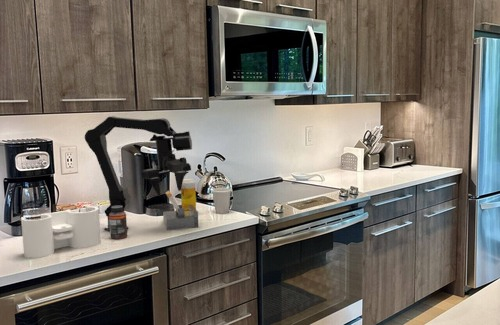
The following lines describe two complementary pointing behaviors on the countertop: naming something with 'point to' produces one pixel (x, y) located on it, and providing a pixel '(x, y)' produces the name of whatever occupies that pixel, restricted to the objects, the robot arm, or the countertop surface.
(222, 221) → the countertop surface
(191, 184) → the yellow jar
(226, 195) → the dixie cup
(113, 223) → the supplement bottle
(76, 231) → the white twin cylinder holder
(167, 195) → the breaker lever
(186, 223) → the grey block with tab
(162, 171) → the robot arm
